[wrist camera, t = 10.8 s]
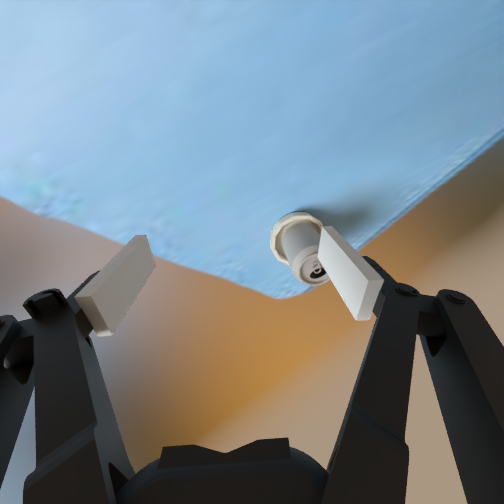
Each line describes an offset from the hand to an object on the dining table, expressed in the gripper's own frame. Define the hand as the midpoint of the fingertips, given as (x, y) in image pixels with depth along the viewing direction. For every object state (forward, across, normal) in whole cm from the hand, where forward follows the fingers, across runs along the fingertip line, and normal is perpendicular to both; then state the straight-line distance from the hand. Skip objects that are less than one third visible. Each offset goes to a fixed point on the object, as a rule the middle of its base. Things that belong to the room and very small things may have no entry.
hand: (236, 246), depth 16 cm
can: (+24, +12, -12) cm, 30 cm away
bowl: (+25, +11, -12) cm, 30 cm away
